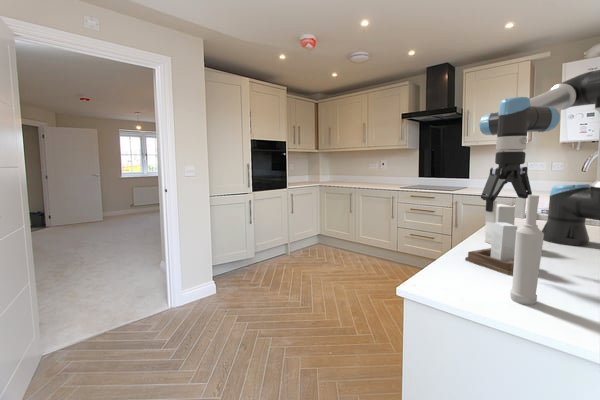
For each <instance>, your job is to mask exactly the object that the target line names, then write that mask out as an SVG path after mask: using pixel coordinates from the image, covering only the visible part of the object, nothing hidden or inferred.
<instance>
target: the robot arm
mask: <svg viewBox="0 0 600 400" xmlns="http://www.w3.org/2000/svg"><path fill="white" fill-rule="evenodd" d="M589 105H590V106H591V105H594V109H595V111H597V112H598V113H600V69H597V70H591V71H587V72H583V73H581V74H578V75H576V76H574V77H571V78H569V79H567V80H565V81H563V82H561V83H558V84H555V85H554V86H553V87H551V88H550V89H549V90H547V91H546V92H543V93H541V94H539V95H536V96H534V97H532V98H529V97H527V96H515V97H509V98H505V99H501V101H500V103H499V108H498V112H490V113H486V114H485V115H482V117H481V118H480V120H479V123H478V127H479V130H480V132H481V133H482V134H483V135H485V136H495V135H496V136H497V137H496V142H495V143H496V145H495V150H496V151H497V152H496V153H495V158H494V159H495V161H494V163H495V164H496V165H498V167H491V168H490V169H489V175H488V178H487V180H486V183H485V185H484V188H483V191H482V193H481V195H480V199H482V200H483V201H485V217H484V218H485V219H484V222H485V223H486V222H491V223H495V222H496V208H497V204H498V201H496V199H497V198H498V196H499V194H500V193H501V191H502V190H503V188H504V186H505V185H507V184H508V183H511V185H512V188H513V189H514V192H515V193H516V196H517V197H515V203H514V206H515V213H514V218H516V219H519V220H520V219H521V220H525V219H526V207H527V205H526V204H527V199H528V195H533V193H532V188H531V183H530V180H529V174H528V167H527V166H521V165H524V164H525V162H526V155H527V154H526V152H525V151H524V150H526V149H527V142H528V138H527V136H528V133H534V132H535V133H536V132H537V133H544V132H549V131H552V130H553V129H555V128H556V127H558V125H559V123H560V120H561V115H560V112H559V111H563V110H566V109H569V108H572V107H573V108H574V107H581V106H589ZM558 110H559V111H558ZM597 148H598V150H597V151H598V152H597V165H596V166H597V167H596V180H595V181H594V182H592V183H591V184H590V183H589V184H588V183H587V184H585V183H584V184H582V183H581V184H580V183H579V184H564V185H563V184H562V185H559V184H558V185H553V186H552V187H551V190H550V194H549V197H548V198H549V202H548V213H547V221H546V222H545V224H544V226H543V228H542V230H541V231H542V232H543V233H544V238H543V241H547V242H551V243H554V244H560V245H566V246H567V245H569V246H588V245H589V243H590V235H589V233H588V230H587V227H586V220H587V219H589V220H593V221H600V129H599V134H598V147H597Z"/></svg>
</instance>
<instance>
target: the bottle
mask: <svg viewBox="0 0 600 400" xmlns="http://www.w3.org/2000/svg"><path fill="white" fill-rule="evenodd" d="M539 201H540V195H537V194H532V195H528V198H527V199H526V204H527V205H526V212H525V222H524V223H523V226H521V227H518V228H517V230H516V241H515V255H514V269H513V274H512V285H511V289H510V296H509V297H510V299H511V300H512V301H513V302H515V303H518V304H522V305H526V306H533V305H535V304H536V303H537V300H538V295H537V288H538V281H539V273H540V266H541V261H542V259H541V258H542V251H543V245H544V240H543V238H544V233H543V232H542V230H541V229H540V228H539V226H538V225H537V217H538V209H539V208H538V207H539V203H540V202H539Z"/></svg>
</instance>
